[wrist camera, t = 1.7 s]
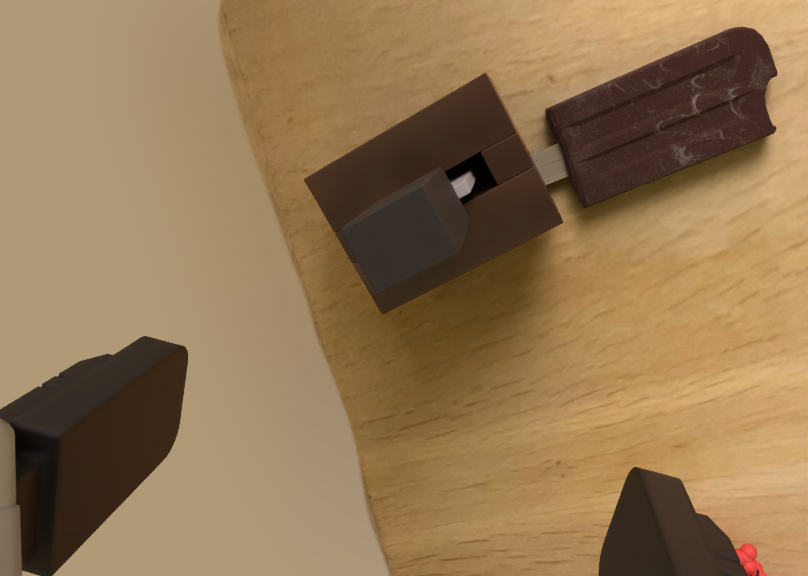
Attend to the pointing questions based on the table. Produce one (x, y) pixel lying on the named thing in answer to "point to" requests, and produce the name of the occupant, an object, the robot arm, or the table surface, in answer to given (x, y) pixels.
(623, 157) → the ice cream bar
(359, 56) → the table surface
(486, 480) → the table surface
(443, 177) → the knife
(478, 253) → the knife block
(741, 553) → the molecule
